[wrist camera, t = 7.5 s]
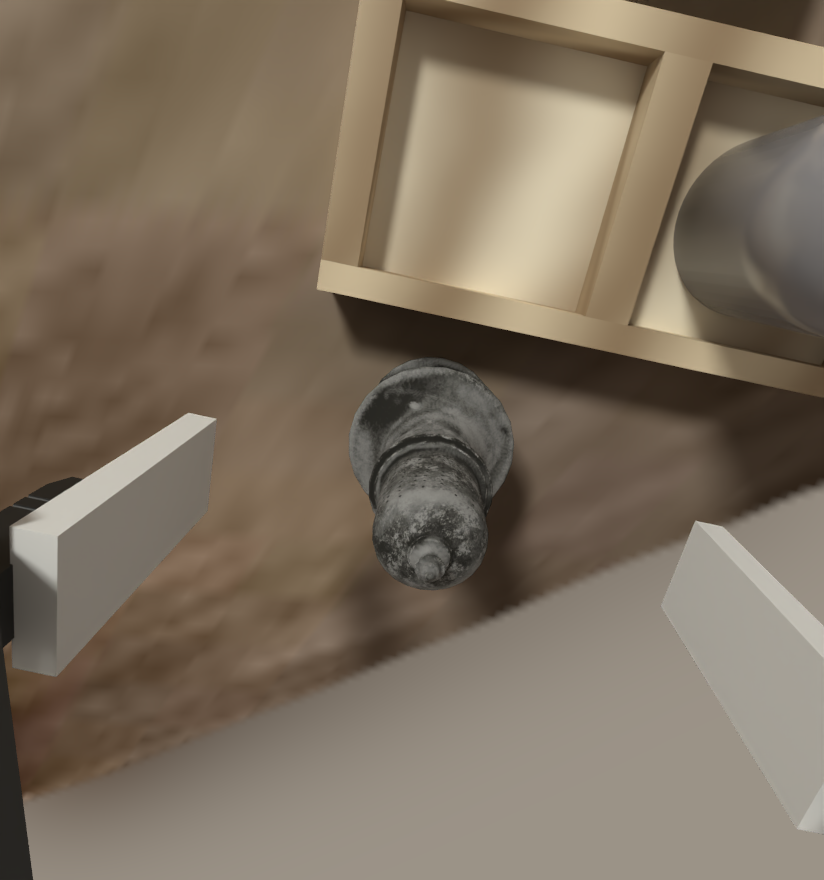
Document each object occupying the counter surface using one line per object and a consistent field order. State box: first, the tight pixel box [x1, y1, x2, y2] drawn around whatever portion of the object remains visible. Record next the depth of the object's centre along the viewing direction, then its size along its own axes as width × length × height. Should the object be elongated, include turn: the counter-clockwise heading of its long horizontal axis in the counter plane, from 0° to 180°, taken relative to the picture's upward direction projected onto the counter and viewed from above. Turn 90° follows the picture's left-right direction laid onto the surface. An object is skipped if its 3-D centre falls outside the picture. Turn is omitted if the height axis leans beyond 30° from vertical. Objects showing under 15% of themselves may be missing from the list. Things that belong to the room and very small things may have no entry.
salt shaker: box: [349, 357, 514, 590], centre depth 18 cm, size 6×6×12 cm
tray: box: [317, 0, 824, 398], centre depth 20 cm, size 20×10×2 cm, turn 78°
